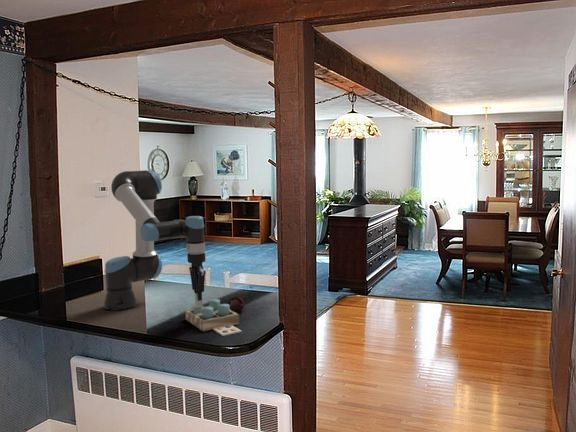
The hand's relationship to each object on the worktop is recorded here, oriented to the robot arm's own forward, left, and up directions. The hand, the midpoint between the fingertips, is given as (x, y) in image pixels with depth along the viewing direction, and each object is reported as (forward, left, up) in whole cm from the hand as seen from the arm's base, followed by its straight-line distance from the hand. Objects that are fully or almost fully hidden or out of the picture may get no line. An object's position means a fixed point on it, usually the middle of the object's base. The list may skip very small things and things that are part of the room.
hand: (199, 307), depth 220 cm
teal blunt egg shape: (+4, +6, -3) cm, 8 cm away
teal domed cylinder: (+8, -5, -3) cm, 10 cm away
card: (+19, -7, -6) cm, 21 cm away
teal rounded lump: (0, 0, -5) cm, 5 cm away
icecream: (+7, +18, -6) cm, 20 cm away
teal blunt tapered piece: (+12, +1, -3) cm, 12 cm away
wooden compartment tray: (+6, +1, -6) cm, 8 cm away
